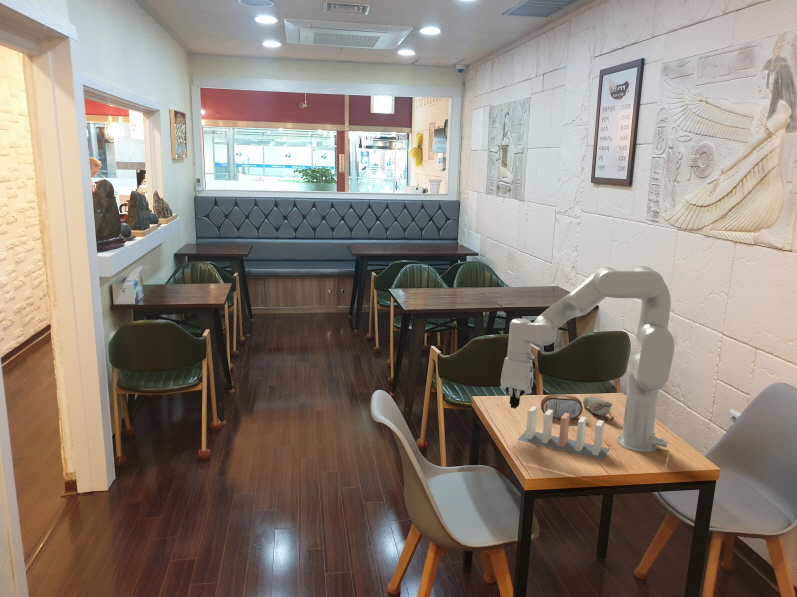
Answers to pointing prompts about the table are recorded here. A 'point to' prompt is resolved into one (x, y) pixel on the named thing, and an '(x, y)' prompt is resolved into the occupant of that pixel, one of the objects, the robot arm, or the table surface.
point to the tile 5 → (598, 437)
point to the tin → (562, 406)
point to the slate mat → (569, 446)
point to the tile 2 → (547, 426)
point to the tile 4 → (581, 433)
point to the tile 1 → (531, 422)
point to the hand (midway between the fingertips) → (514, 407)
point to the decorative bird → (598, 406)
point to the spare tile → (564, 430)
